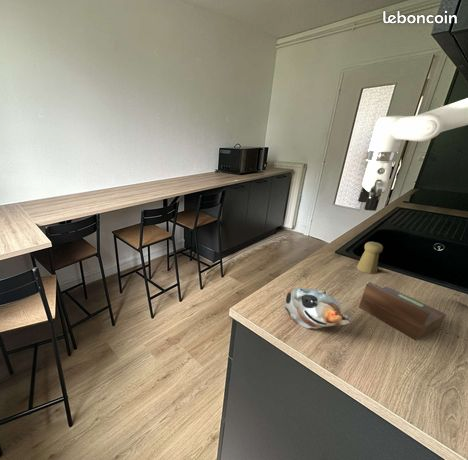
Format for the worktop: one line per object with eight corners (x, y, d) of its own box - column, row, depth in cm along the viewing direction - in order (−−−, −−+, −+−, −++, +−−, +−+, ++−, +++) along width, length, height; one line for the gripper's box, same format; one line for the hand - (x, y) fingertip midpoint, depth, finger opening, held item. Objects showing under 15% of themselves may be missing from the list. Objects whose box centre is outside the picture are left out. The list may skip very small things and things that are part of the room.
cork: (355, 263, 99) (363, 238, 95) (375, 267, 96) (384, 241, 92) (357, 271, 94) (365, 245, 90) (377, 275, 91) (387, 248, 87)
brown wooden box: (382, 296, 81) (391, 272, 77) (440, 325, 69) (454, 299, 65) (358, 307, 77) (366, 282, 73) (415, 340, 65) (428, 313, 61)
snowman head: (342, 315, 74) (368, 296, 63) (325, 348, 69) (349, 334, 58) (293, 284, 81) (308, 263, 70) (274, 313, 76) (287, 294, 65)
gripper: (405, 160, 74) (387, 215, 81) (387, 153, 88) (373, 200, 95) (373, 160, 77) (358, 212, 84) (361, 153, 91) (349, 198, 98)
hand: (366, 205), depth 90 cm, fingers open, 9 cm apart
